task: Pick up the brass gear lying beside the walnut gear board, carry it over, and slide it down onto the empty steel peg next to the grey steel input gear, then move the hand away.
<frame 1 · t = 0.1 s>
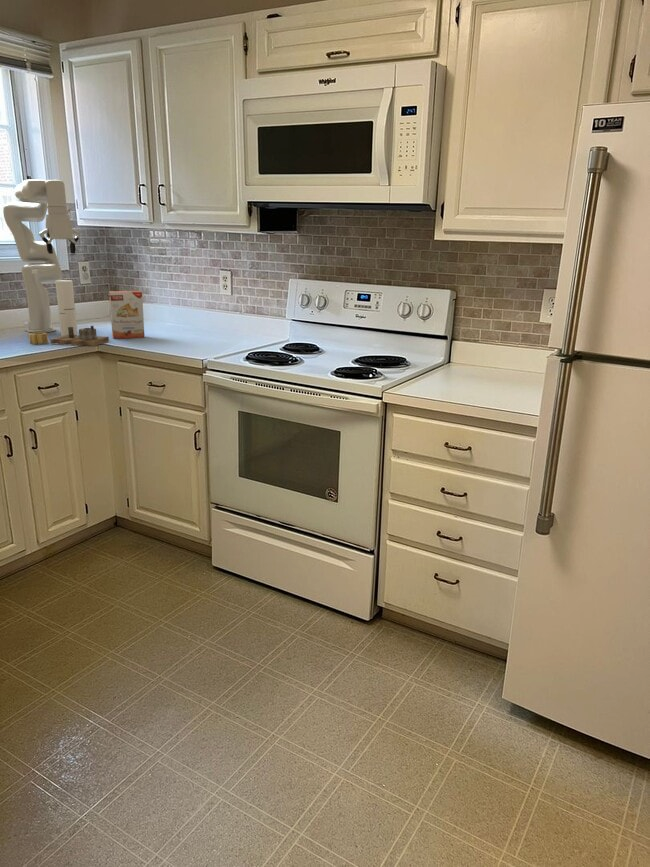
hand: (61, 253, 277), 37 cm above the countertop, tool pointing down, fingers open, 9 cm apart
gear board: (80, 342, 282), on the countertop
cracker box: (128, 337, 297), on the countertop
brass gear: (39, 342, 279), on the countertop
cylindrical container: (69, 336, 297), on the countertop
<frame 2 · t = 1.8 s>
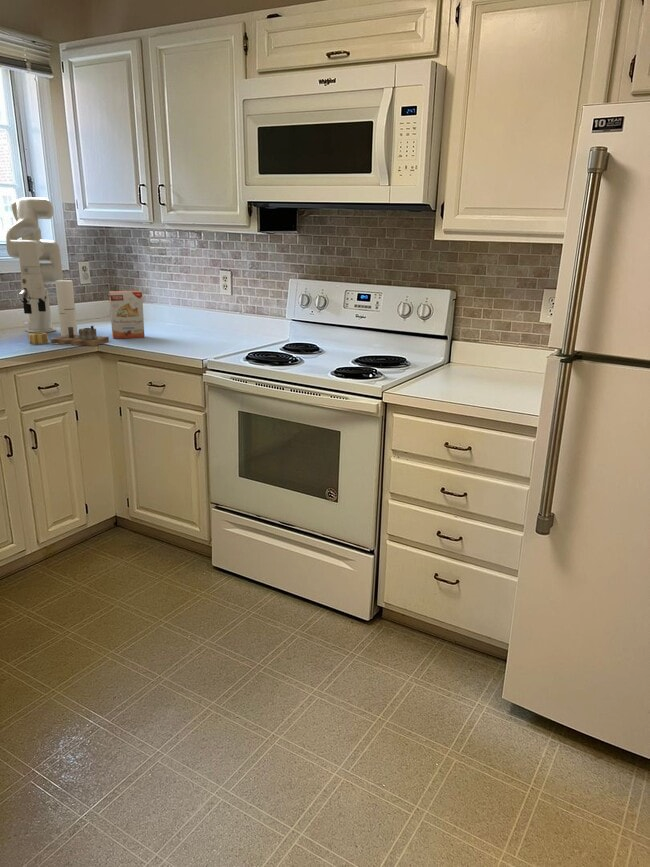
hand: (35, 312, 274), 13 cm above the countertop, tool pointing down, fingers open, 9 cm apart
nothing on the countertop moved.
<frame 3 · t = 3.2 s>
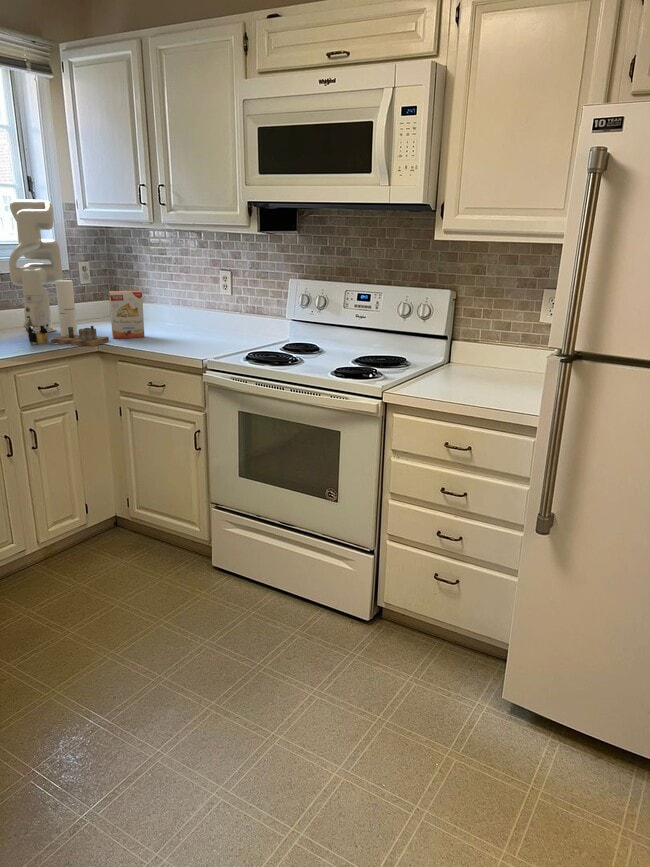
hand: (38, 340, 279), 1 cm above the countertop, tool pointing down, fingers closed on brass gear, 7 cm apart
brass gear: (39, 342, 279), on the countertop, touching gripper
everything else where it was.
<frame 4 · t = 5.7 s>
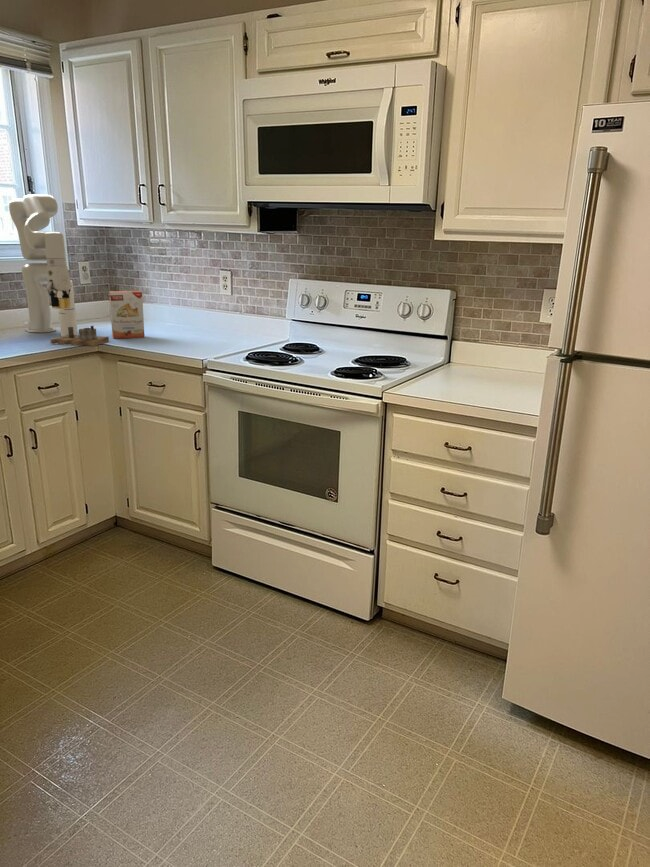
hand: (61, 305, 277), 16 cm above the countertop, tool pointing down, fingers closed on brass gear, 7 cm apart
brass gear: (61, 307, 277), point 15 cm above the countertop, touching gripper
everything else where it was.
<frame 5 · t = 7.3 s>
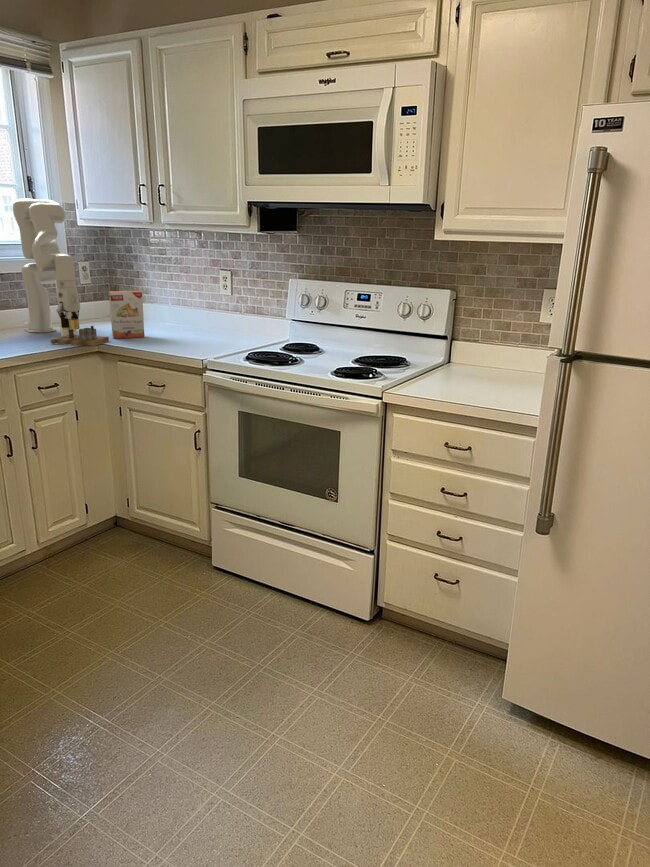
hand: (70, 326, 280), 7 cm above the countertop, tool pointing down, fingers closed on brass gear, 7 cm apart
brass gear: (70, 328, 280), point 6 cm above the countertop, touching gripper
everything else where it was.
when the fingers open (4 cm above the countertop, at t = 8.4 s): brass gear drops 1 cm, resting on gear board.
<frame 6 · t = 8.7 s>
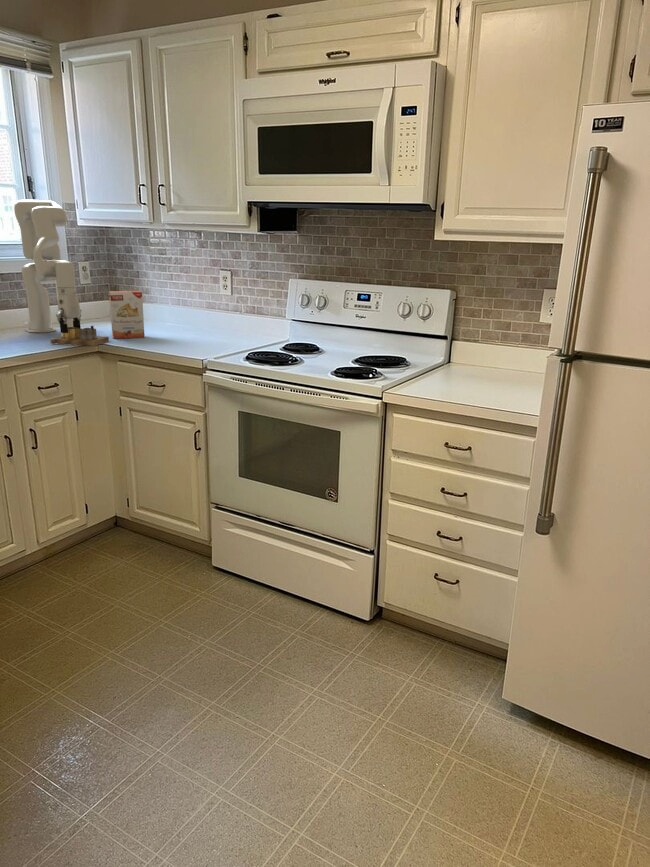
hand: (70, 331, 281), 5 cm above the countertop, tool pointing down, fingers open, 9 cm apart
brass gear: (71, 337, 282), point 2 cm above the countertop, touching gear board
everything else where it was.
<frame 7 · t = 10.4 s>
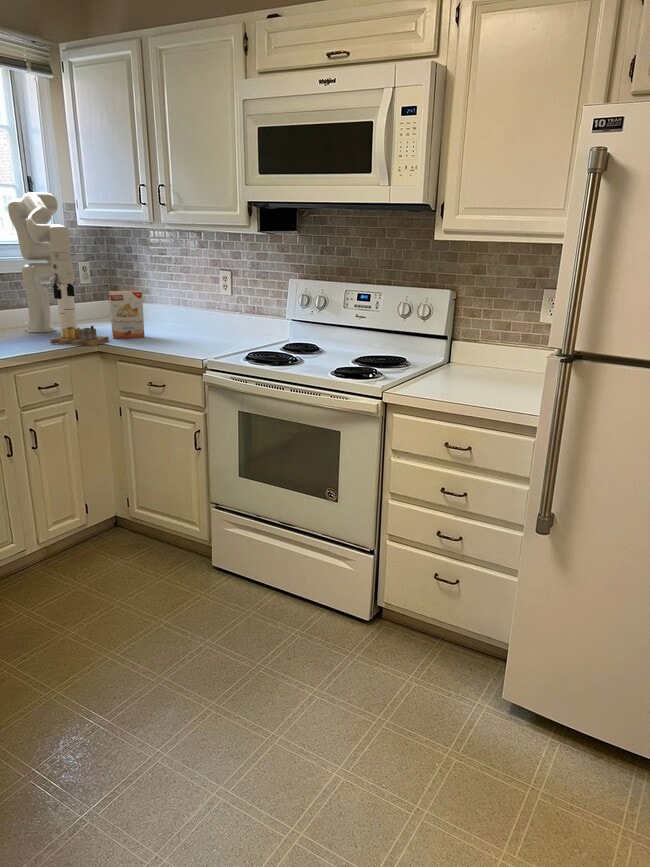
hand: (64, 297, 278), 19 cm above the countertop, tool pointing down, fingers open, 9 cm apart
nothing on the countertop moved.
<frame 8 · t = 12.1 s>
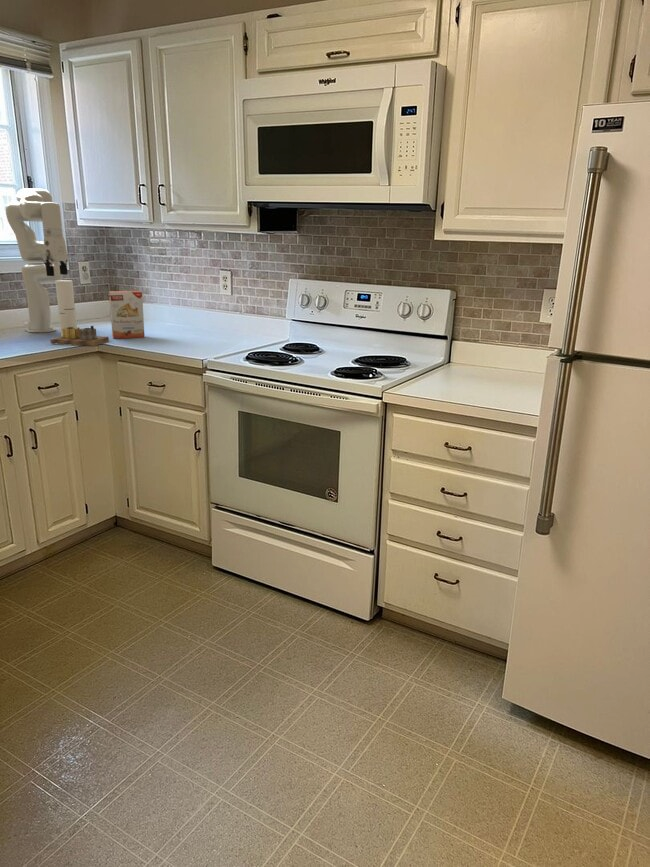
hand: (57, 275, 277), 28 cm above the countertop, tool pointing down, fingers open, 9 cm apart
nothing on the countertop moved.
at the end: brass gear 0.1 cm from the target spot on the gear board, point 2.0 cm above the gear board's base; brass gear tilted 0°; the gripper is holding nothing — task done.
